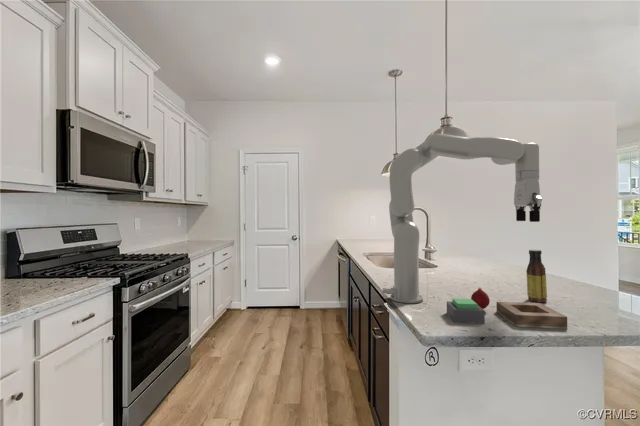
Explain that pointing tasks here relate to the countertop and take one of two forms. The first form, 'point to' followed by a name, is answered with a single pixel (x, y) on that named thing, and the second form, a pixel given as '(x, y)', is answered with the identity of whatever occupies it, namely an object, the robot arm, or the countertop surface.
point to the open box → (531, 315)
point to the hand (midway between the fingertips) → (527, 221)
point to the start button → (464, 304)
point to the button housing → (465, 314)
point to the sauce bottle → (536, 278)
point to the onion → (480, 298)
